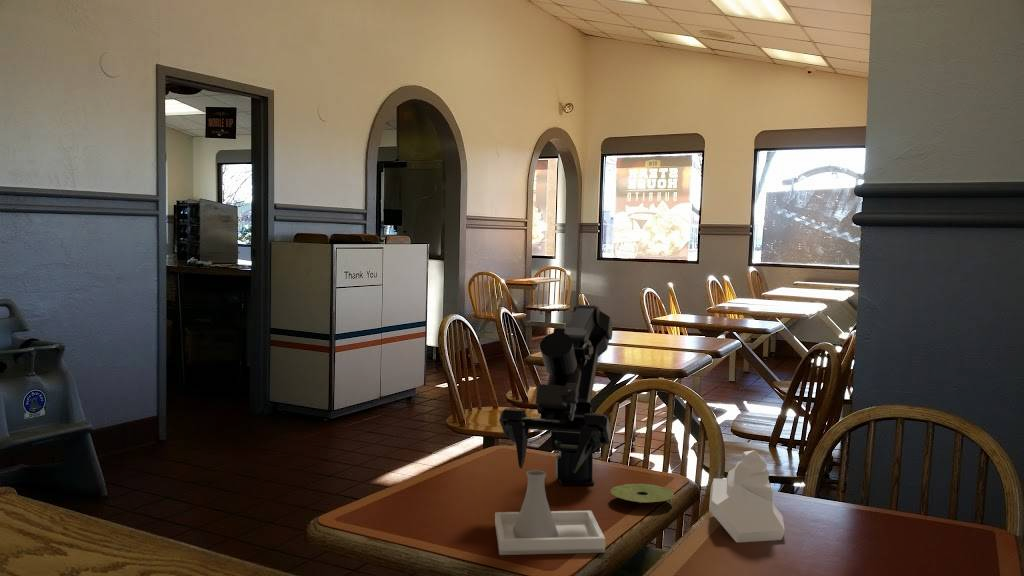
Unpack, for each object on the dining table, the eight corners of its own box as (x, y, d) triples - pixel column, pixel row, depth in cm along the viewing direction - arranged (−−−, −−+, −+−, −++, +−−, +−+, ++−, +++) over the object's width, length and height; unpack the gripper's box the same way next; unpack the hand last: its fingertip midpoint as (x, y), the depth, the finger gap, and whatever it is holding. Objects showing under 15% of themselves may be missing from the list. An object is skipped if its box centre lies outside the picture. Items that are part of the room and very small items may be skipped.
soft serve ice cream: (778, 525, 143) (802, 450, 140) (776, 564, 129) (803, 481, 126) (707, 500, 146) (729, 426, 143) (697, 535, 132) (721, 454, 129)
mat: (600, 496, 154) (600, 485, 154) (655, 491, 157) (655, 480, 157) (627, 515, 143) (627, 504, 143) (685, 509, 146) (685, 498, 146)
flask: (546, 524, 137) (546, 464, 136) (566, 539, 130) (567, 475, 129) (505, 530, 134) (506, 469, 133) (524, 545, 127) (524, 481, 126)
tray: (590, 523, 139) (591, 510, 139) (605, 552, 126) (605, 538, 126) (495, 525, 138) (495, 512, 138) (499, 555, 125) (499, 540, 125)
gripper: (502, 362, 146) (483, 439, 136) (608, 367, 140) (596, 448, 131) (514, 398, 154) (497, 474, 144) (615, 404, 148) (604, 483, 139)
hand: (546, 469), depth 139 cm, fingers open, 9 cm apart
